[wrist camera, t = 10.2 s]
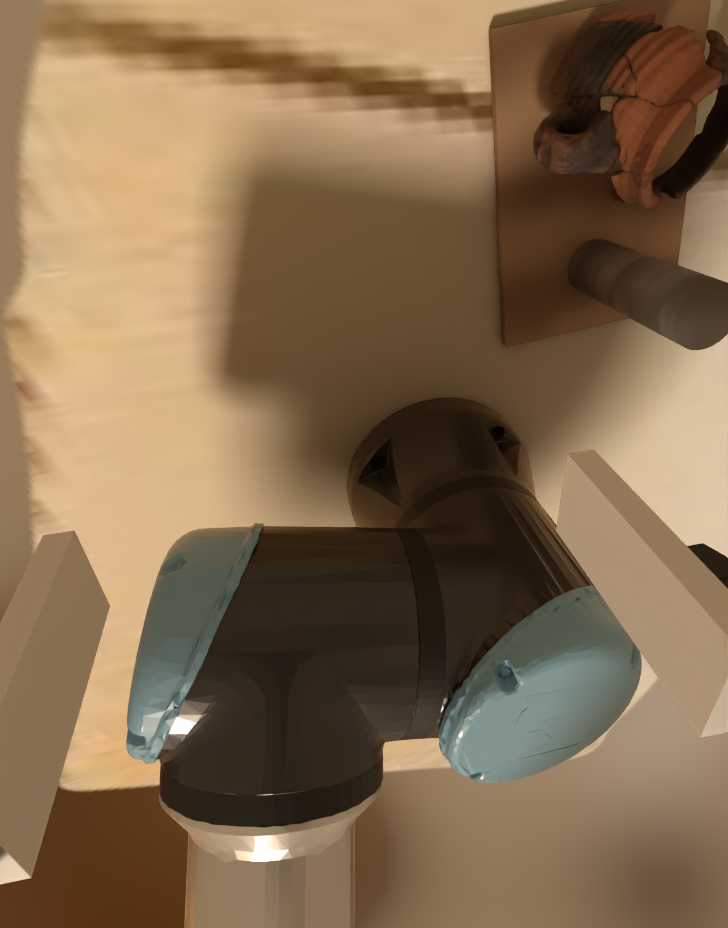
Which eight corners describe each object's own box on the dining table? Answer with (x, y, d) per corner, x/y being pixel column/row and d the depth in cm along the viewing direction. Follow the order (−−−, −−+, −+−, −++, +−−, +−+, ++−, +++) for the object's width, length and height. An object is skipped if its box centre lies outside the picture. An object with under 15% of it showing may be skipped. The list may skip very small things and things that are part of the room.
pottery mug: (668, -32, 31) (799, 13, 27) (625, 135, 40) (722, 189, 36) (494, 54, 30) (608, 116, 26) (487, 211, 38) (572, 277, 34)
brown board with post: (667, 305, 43) (803, 367, 32) (503, 344, 42) (586, 420, 31) (705, -17, 32) (924, -82, 22) (488, 30, 32) (604, -14, 21)
